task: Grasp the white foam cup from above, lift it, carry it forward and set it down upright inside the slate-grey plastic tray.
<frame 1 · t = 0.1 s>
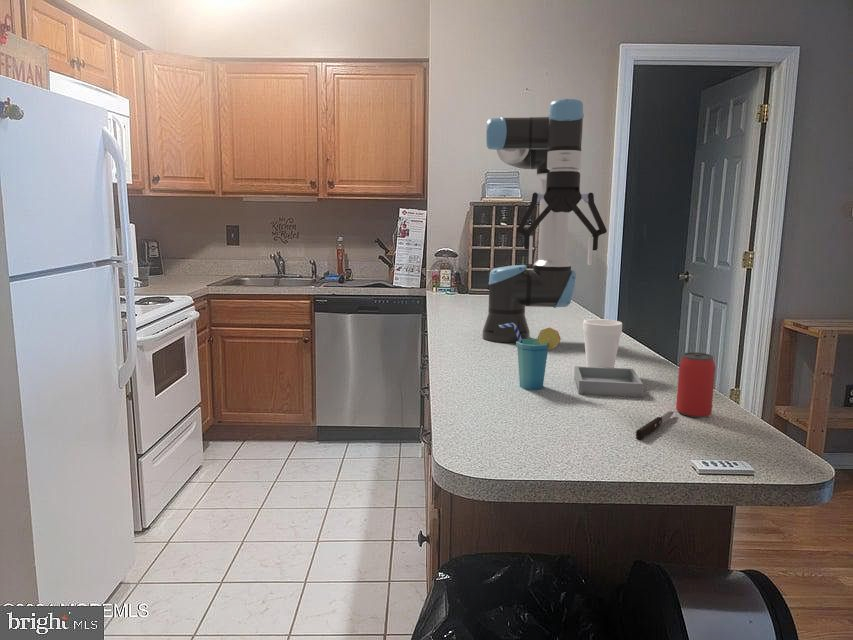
hand: (559, 264, 144), 28 cm above the countertop, tool pointing down, fingers open, 13 cm apart
foam cup: (599, 373, 155), on the countertop
cup: (527, 387, 142), on the countertop
tray: (606, 387, 142), on the countertop
beer can: (693, 414, 124), on the countertop
kitchen knife: (656, 429, 116), on the countertop
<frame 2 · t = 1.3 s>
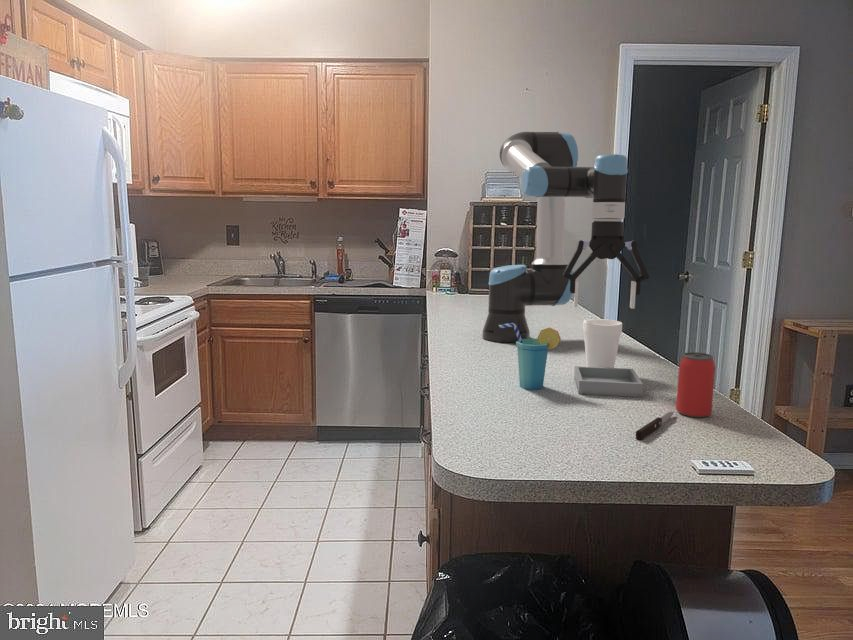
hand: (603, 307, 152), 17 cm above the countertop, tool pointing down, fingers open, 13 cm apart
nothing on the countertop moved.
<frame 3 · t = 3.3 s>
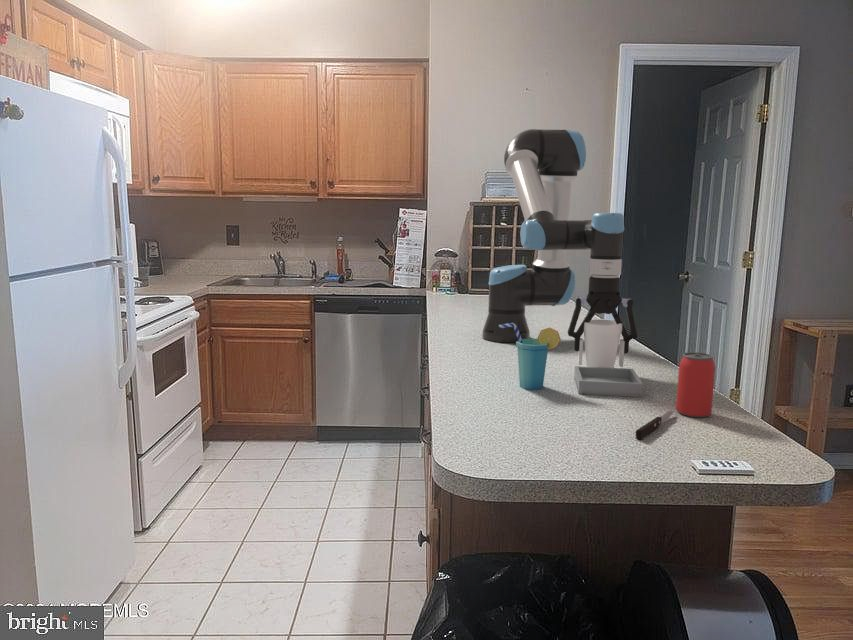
hand: (600, 364, 155), 2 cm above the countertop, tool pointing down, fingers closed on foam cup, 9 cm apart
foam cup: (599, 373, 155), on the countertop, touching gripper
everything else where it was.
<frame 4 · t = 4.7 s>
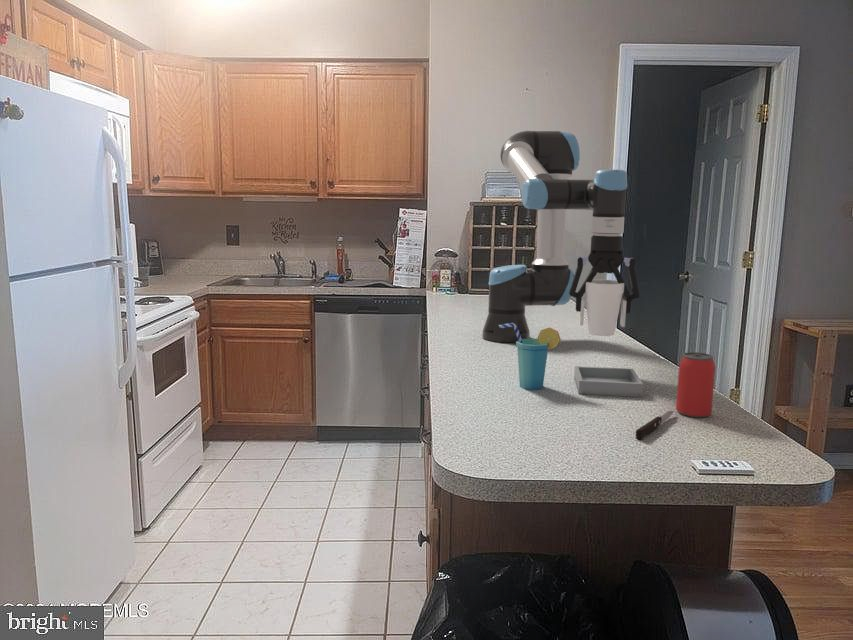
hand: (601, 325, 154), 12 cm above the countertop, tool pointing down, fingers closed on foam cup, 9 cm apart
foam cup: (601, 334, 154), point 10 cm above the countertop, touching gripper
everything else where it was.
when the fingers open (4 cm above the countertop, at t = 9.3 s): foam cup drops 2 cm, resting on tray.
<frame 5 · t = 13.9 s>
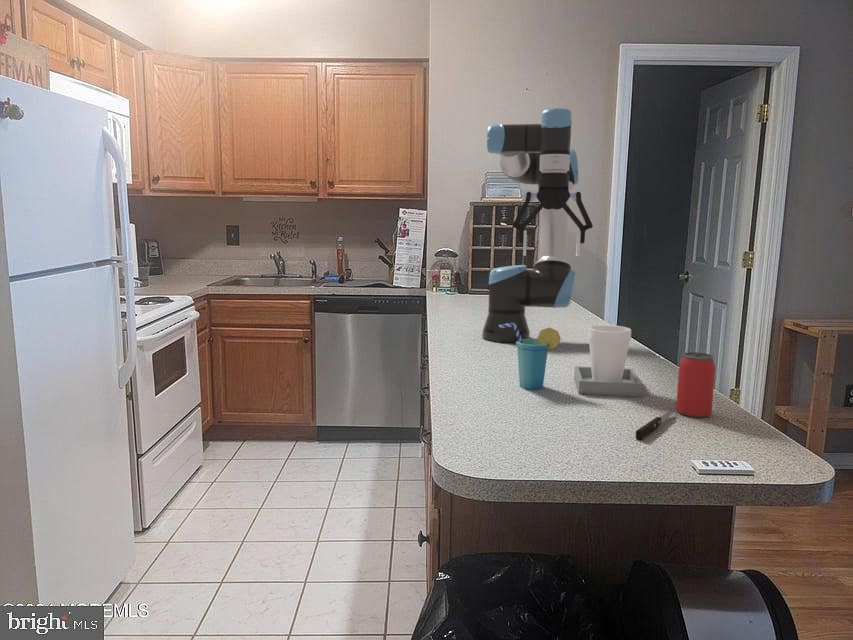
hand: (550, 256, 160), 29 cm above the countertop, tool pointing down, fingers open, 13 cm apart
foam cup: (606, 384, 142), point 1 cm above the countertop, touching tray
everything else where it was.
at the end: foam cup inside the target area on the tray (0.0 cm from its centre), point 0.6 cm above the tray's base; foam cup tilted 0°; the gripper is holding nothing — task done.
